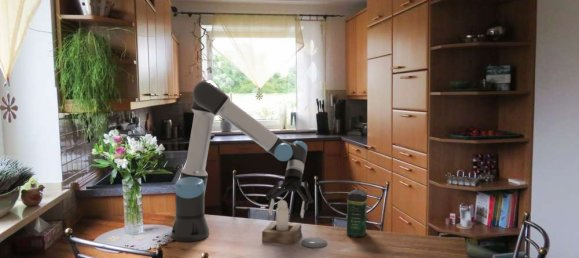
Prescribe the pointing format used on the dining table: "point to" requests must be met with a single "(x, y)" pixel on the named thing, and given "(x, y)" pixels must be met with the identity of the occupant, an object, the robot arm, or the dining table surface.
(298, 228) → the walnut holder
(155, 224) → the dining table surface
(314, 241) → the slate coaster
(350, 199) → the coffee jar
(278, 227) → the pepper mill
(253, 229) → the dining table surface
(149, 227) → the dining table surface
